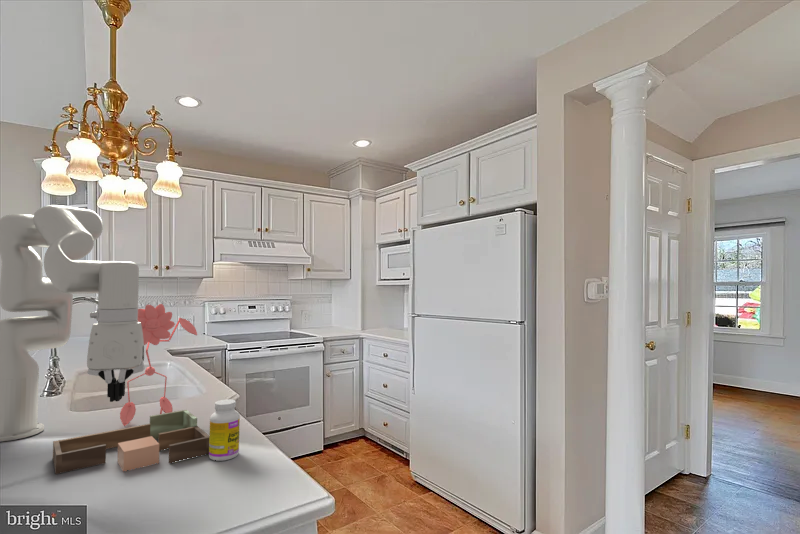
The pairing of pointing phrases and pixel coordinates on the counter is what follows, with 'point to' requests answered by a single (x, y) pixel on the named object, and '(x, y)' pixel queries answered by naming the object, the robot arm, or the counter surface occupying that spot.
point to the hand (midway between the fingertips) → (116, 399)
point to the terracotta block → (138, 453)
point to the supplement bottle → (224, 431)
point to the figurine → (153, 331)
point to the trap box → (168, 427)
